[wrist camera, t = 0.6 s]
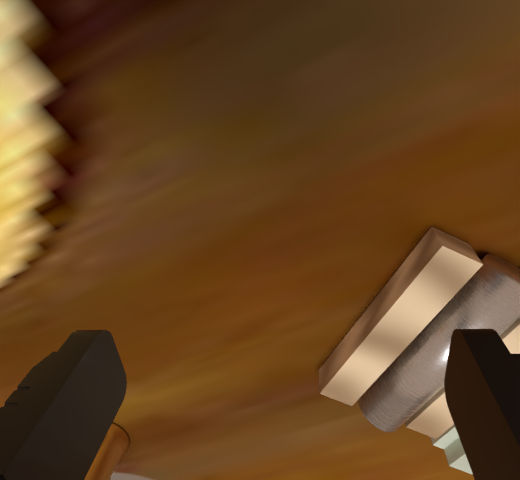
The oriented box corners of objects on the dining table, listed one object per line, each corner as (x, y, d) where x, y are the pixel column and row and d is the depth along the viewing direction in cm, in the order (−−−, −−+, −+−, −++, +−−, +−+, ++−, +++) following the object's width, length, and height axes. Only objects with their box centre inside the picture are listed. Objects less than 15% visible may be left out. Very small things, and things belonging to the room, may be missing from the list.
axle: (476, 246, 27) (503, 282, 24) (522, 266, 28) (556, 304, 24) (354, 382, 35) (362, 424, 32) (393, 395, 36) (405, 437, 32)
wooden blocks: (431, 226, 27) (442, 245, 24) (567, 289, 28) (589, 313, 26) (318, 369, 35) (319, 393, 32) (428, 413, 36) (436, 438, 34)
